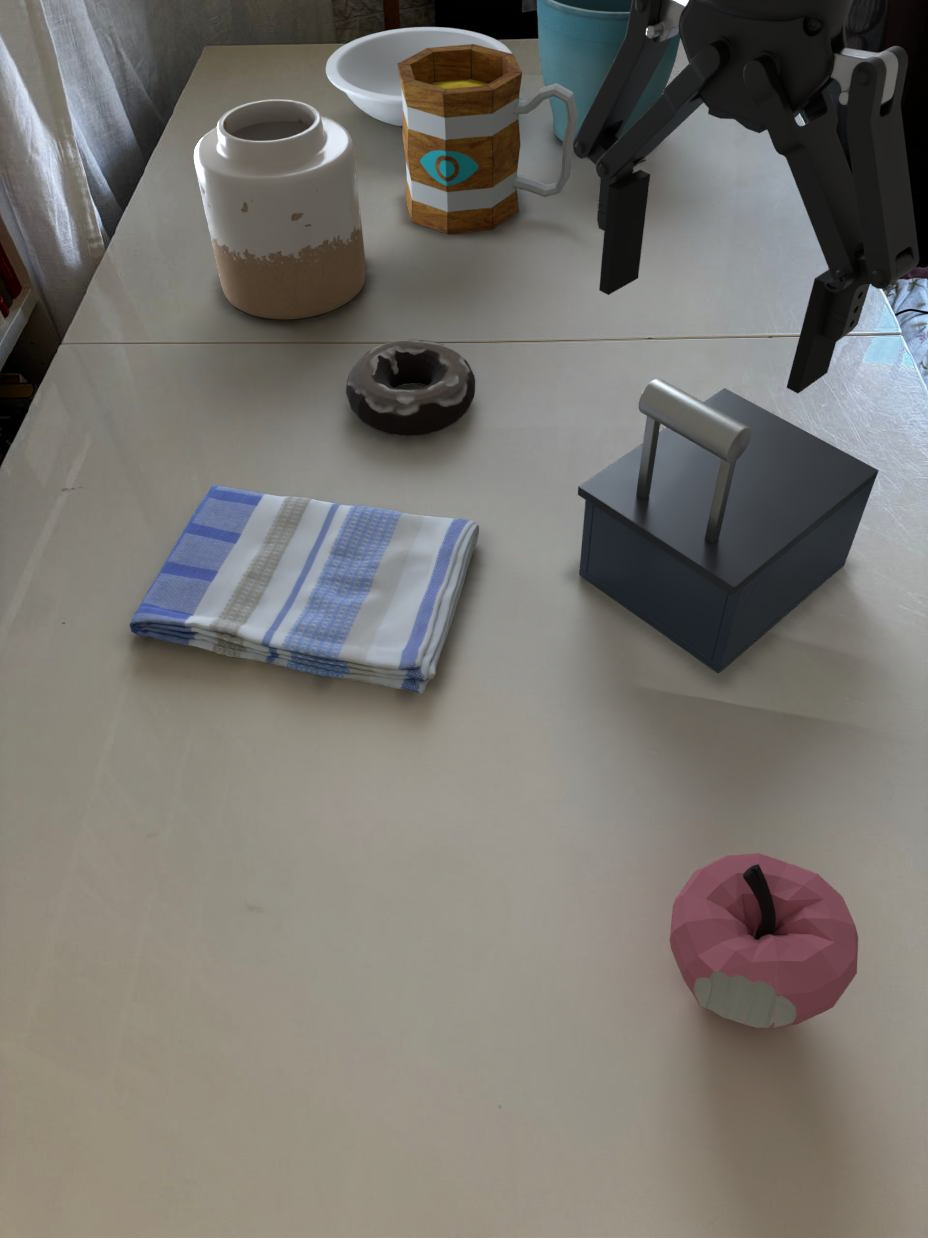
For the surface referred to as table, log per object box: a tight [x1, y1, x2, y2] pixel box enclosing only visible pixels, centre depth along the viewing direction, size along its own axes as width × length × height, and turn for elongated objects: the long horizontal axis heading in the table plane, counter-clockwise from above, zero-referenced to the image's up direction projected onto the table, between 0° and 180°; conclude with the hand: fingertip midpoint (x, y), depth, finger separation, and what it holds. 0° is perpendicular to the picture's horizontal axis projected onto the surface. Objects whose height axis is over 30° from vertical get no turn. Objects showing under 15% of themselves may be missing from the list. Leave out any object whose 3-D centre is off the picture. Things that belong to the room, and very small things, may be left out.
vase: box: [193, 98, 367, 320], centre depth 104 cm, size 15×15×17 cm
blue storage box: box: [578, 479, 876, 674], centre depth 77 cm, size 16×14×9 cm
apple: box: [669, 852, 859, 1029], centre depth 55 cm, size 10×9×10 cm
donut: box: [345, 338, 476, 437], centre depth 94 cm, size 12×12×4 cm
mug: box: [398, 44, 578, 235], centre depth 114 cm, size 20×14×15 cm
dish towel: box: [129, 484, 480, 695], centre depth 79 cm, size 17×24×3 cm
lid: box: [577, 378, 880, 596], centre depth 70 cm, size 16×14×10 cm
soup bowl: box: [325, 26, 513, 127], centre depth 134 cm, size 24×24×7 cm
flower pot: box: [536, 0, 681, 142], centre depth 126 cm, size 18×18×17 cm
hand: (707, 330), depth 60 cm, fingers open, 13 cm apart
